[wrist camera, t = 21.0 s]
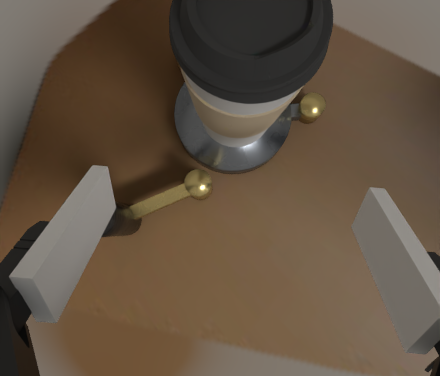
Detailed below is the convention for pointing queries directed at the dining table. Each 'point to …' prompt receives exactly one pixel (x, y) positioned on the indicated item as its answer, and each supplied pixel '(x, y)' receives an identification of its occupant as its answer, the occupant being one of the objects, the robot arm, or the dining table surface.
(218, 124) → the coffee cup
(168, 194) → the lever
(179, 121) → the plate
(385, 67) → the dining table surface
